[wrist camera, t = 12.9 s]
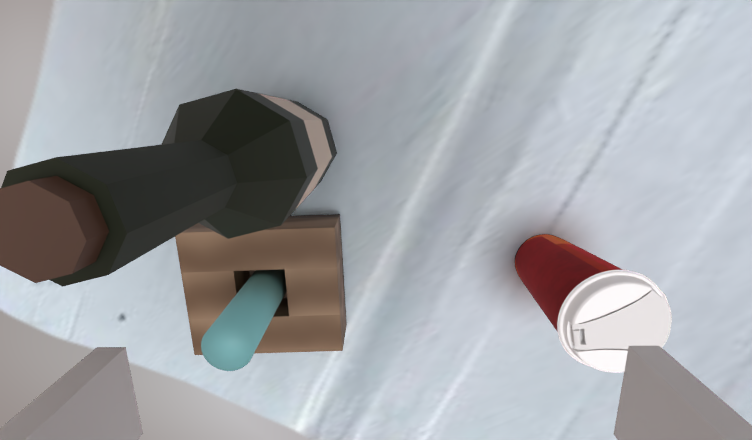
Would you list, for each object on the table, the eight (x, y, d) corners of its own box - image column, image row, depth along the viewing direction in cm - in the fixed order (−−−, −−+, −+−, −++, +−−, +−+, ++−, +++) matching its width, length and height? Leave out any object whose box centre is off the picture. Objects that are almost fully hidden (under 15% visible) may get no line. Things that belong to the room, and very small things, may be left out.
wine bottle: (246, 183, 39) (-124, 366, 10) (252, 95, 37) (-186, 13, 8) (331, 195, 40) (204, 407, 11) (342, 108, 38) (218, 72, 9)
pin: (253, 261, 40) (197, 325, 28) (289, 259, 40) (249, 322, 28) (257, 294, 41) (205, 372, 29) (293, 292, 41) (256, 369, 28)
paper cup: (509, 301, 42) (571, 388, 29) (498, 232, 41) (559, 289, 27) (585, 286, 42) (684, 367, 28) (577, 216, 40) (679, 266, 26)
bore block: (199, 219, 40) (174, 233, 35) (339, 214, 40) (334, 227, 35) (215, 328, 43) (194, 355, 38) (346, 324, 43) (342, 350, 38)
